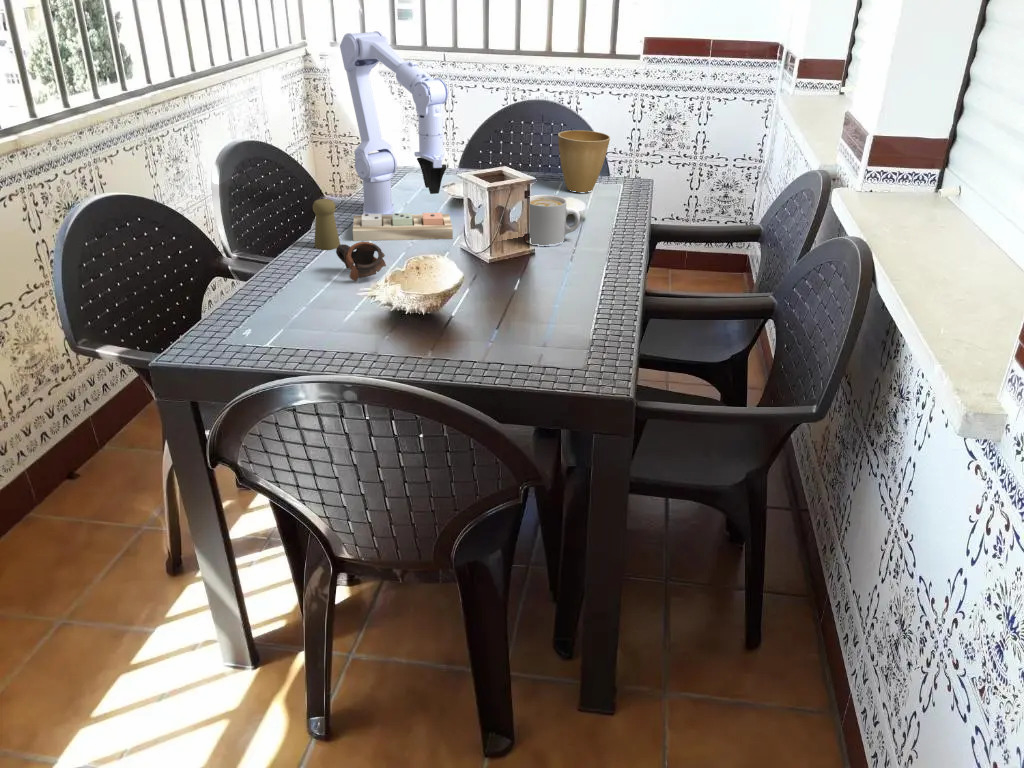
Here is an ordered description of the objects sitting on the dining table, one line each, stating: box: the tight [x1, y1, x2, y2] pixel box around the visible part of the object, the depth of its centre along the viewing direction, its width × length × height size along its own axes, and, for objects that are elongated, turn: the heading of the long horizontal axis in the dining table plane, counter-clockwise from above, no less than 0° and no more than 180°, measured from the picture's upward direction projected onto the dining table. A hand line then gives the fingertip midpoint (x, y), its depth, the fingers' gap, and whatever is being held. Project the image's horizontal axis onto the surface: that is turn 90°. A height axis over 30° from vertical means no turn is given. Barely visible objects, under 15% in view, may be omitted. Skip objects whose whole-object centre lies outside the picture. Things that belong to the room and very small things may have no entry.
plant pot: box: [557, 129, 611, 192], centre depth 239 cm, size 15×15×16 cm
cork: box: [312, 198, 341, 251], centre depth 192 cm, size 6×6×11 cm
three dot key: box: [392, 212, 413, 226], centre depth 204 cm, size 5×5×3 cm
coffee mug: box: [529, 194, 581, 245], centre depth 200 cm, size 13×10×10 cm
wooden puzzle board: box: [352, 213, 454, 242], centre depth 204 cm, size 12×24×2 cm, turn 98°
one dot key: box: [422, 212, 443, 225], centre depth 205 cm, size 5×5×3 cm
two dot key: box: [361, 213, 382, 226], centre depth 203 cm, size 5×5×3 cm
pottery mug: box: [335, 241, 387, 282], centre depth 178 cm, size 12×10×8 cm
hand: (432, 190), depth 201 cm, fingers open, 5 cm apart
